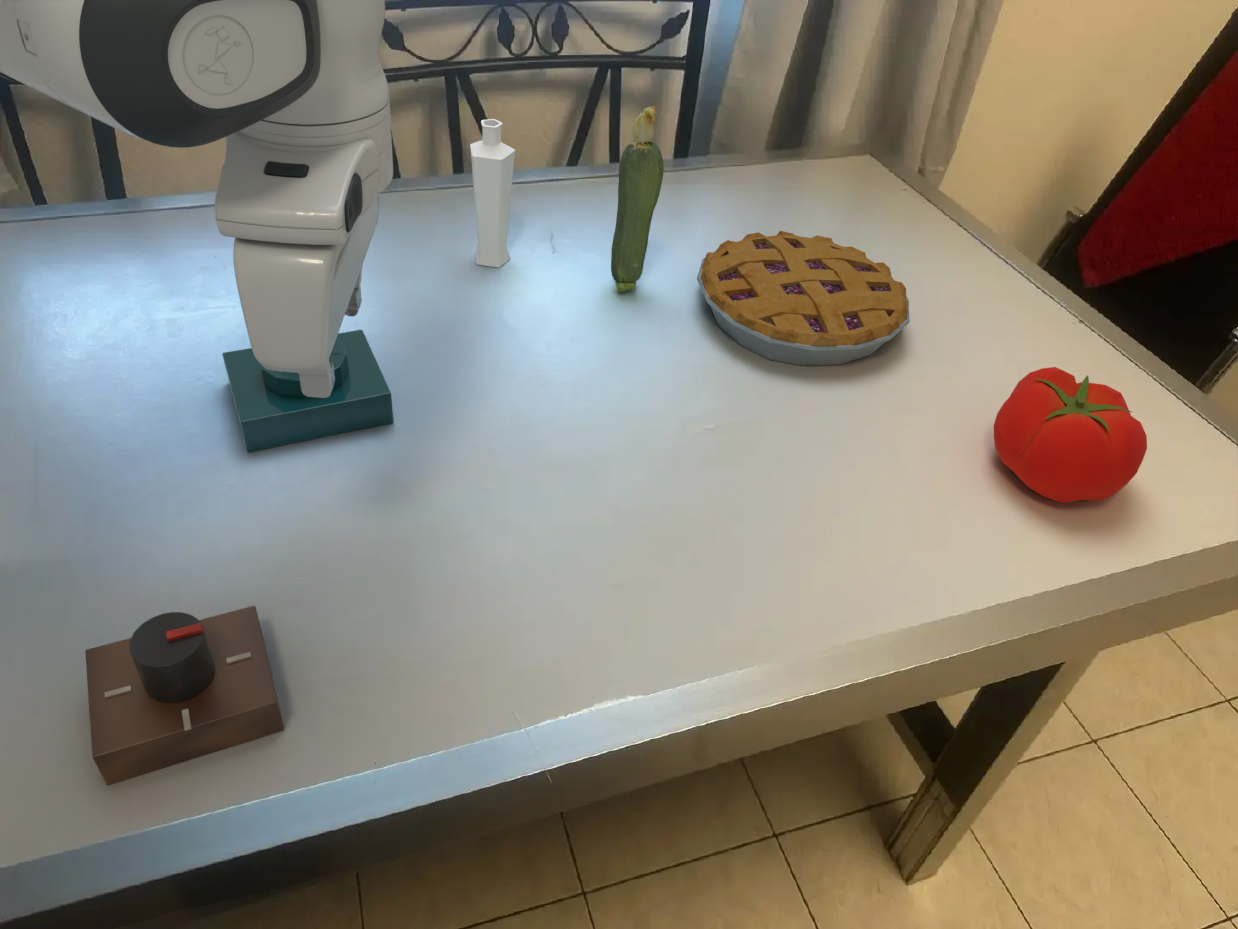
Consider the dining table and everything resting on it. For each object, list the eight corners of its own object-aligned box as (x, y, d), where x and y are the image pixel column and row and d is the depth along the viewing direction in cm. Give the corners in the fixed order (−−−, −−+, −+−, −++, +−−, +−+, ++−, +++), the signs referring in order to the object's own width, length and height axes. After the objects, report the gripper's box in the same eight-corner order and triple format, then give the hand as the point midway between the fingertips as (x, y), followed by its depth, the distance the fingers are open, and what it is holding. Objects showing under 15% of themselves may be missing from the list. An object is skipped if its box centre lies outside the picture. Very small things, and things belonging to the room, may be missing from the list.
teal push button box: (247, 452, 77) (236, 404, 74) (228, 382, 84) (217, 334, 81) (393, 422, 82) (389, 375, 78) (365, 358, 88) (360, 312, 85)
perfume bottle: (460, 256, 103) (457, 120, 94) (491, 244, 106) (491, 110, 96) (488, 273, 101) (488, 136, 91) (519, 261, 104) (522, 125, 94)
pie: (942, 360, 96) (958, 318, 93) (749, 390, 90) (759, 346, 86) (835, 253, 111) (845, 214, 108) (662, 273, 105) (668, 231, 101)
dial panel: (106, 787, 55) (91, 757, 53) (98, 677, 60) (84, 646, 58) (285, 731, 59) (277, 701, 57) (262, 632, 64) (254, 602, 62)
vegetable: (606, 277, 103) (622, 91, 90) (645, 278, 103) (668, 93, 90) (610, 299, 100) (628, 109, 86) (651, 300, 100) (675, 111, 87)
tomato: (1152, 519, 81) (1201, 442, 75) (1018, 526, 79) (1058, 447, 73) (1076, 424, 90) (1115, 349, 85) (955, 428, 88) (986, 352, 82)
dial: (147, 711, 56) (130, 672, 53) (140, 659, 58) (125, 619, 56) (219, 690, 57) (206, 651, 55) (210, 640, 60) (197, 601, 57)
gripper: (297, 77, 62) (318, 266, 71) (202, 222, 46) (244, 441, 55) (396, 86, 62) (404, 273, 71) (334, 233, 47) (355, 448, 56)
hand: (334, 348), depth 63 cm, fingers open, 8 cm apart
